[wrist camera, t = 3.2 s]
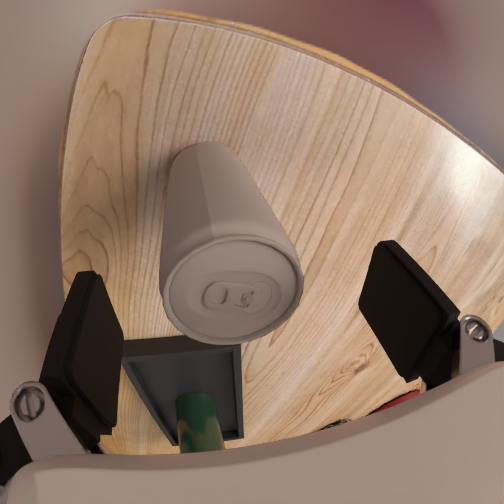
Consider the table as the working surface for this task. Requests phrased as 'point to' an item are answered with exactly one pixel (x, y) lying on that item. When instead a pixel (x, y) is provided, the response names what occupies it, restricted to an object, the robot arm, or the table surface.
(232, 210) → the beverage can
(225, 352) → the tray
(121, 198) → the table surface
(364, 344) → the table surface
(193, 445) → the middle bottle
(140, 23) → the table surface
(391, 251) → the robot arm
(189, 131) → the table surface
